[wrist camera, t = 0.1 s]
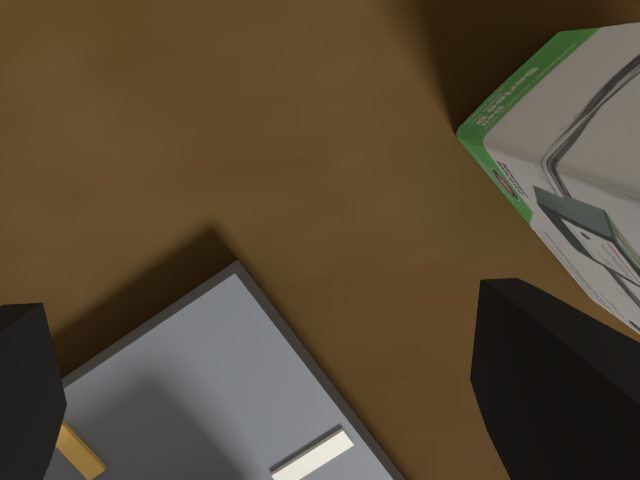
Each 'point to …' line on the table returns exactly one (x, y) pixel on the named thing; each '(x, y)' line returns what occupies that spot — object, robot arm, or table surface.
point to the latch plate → (212, 400)
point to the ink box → (573, 156)
